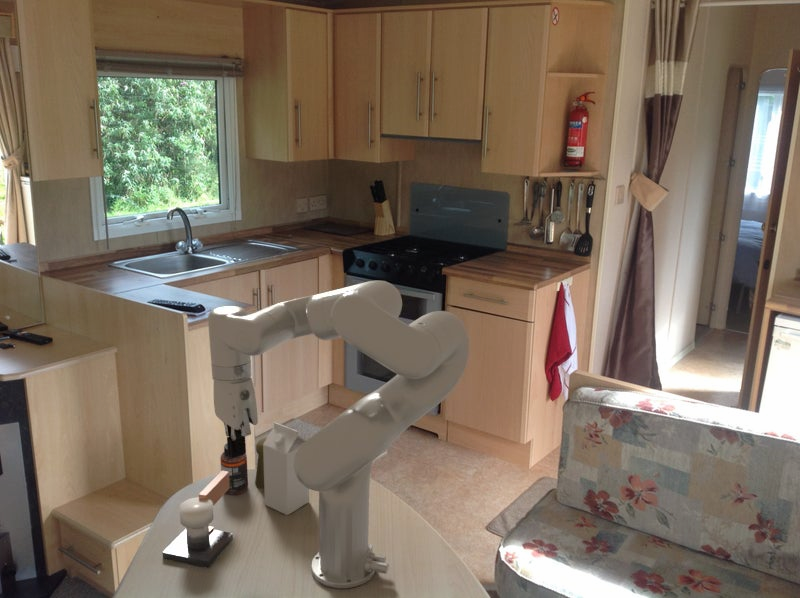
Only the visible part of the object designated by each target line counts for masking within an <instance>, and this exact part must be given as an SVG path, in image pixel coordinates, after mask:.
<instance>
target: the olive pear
mask: <svg viewBox="0 0 800 598" xmlns="http://www.w3.org/2000/svg"><path fill="white" fill-rule="evenodd" d="M266 439H267V437H264V438H262V439H260V440H258V441H257V443H256V444H255V450H256V451H255V452H256V453H257V456H258V457H257V464H256V465H257V466H256V472H255V473H256V475H255V482H254V484H255V487H256V488H259V489H261V490H264V457H263V444H264V442H265V441H266Z"/></svg>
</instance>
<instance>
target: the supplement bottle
mask: <svg viewBox="0 0 800 598" xmlns="http://www.w3.org/2000/svg"><path fill="white" fill-rule="evenodd" d="M221 471H228V472H229V485H230V488H229V489H228V491H227V492H226V493H225V494H226V495H230V496H233V495H240V494H242V493H244V492H245V491H247V490H248V488H249V478H248V477H249V475H248V474H249V473H248V457H247V452H246V453H245V454H243V455H241V456H238V457H235V458H232V457H231V456H229V455H228V446H227V442H226V443H225V444H224V446H223V452H222V453H221V455H220V472H221Z"/></svg>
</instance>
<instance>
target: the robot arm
mask: <svg viewBox="0 0 800 598" xmlns="http://www.w3.org/2000/svg"><path fill="white" fill-rule="evenodd" d="M402 307H403V300H402V295H401V293H400V291H399V289H398V288H397V287H396V286H394V284H392V283H390V282H388V281H386V280H377V279H376V280H370V281H365V282H360V283H357V284H353V285H350V286H345V287H342V288H338V289H333V290H329V291H325V292H322V293H321V292H320V293H317V294H313V295H307V296H302V297H298V298H294V299H291V300H287V301H283V302H278V303H276V304H273V305H269V306H267V307H265V308H262V309H260V310H258V311H255V312H253V313H252V312H251V313H250V314H248V312H247V310H246V309H245V308H244V307H241V306H237V305H224V306H219V307H216V308H213V309H212V310H211V311H210V312H209V313H208V317H207V322H208V324H207V325H208V326H207V327H208V337H209V350H210V351H209V352H210V353H209V354H210V364H211V365H210V366H211V378H212V380H213V408H214V413H215V416H216V417H217V418H218V419H219V420H220V421H221V422H222V423H223V425H224V431H225V436H226V443H227V446H228V455H229V456H231V457H232V458H235V457H238V456H241V455H243V454H245V453H246V454H247V447H246V445H247V444H246V437H248V436H251V435H252V429H251V425H250V424H252V425H253V426H257V425H258V423H259V416H258V407H257V406H258V405H257V399H256V398H257V397H256V392H255V388H254V383H253V379H252V364H251V362H252V361H251V356H252V357H255V356H260V355H262V354H264V353H266V352H268V351H270V350H272V349H273V348H275V347H278V346H280V345H281V344H284V343H286V342H288V341H290V340H293V339H296V338H301V337H305V336H310V335H314V336H315V337H316V338H317V339H319V340H321V341H331V340H336V339H343V340H344V341H345V342H346V343H347V344H349V345H350V346H352V347H353V348H355V350H358V351H359V352H361V353H363V354H364V355H366V356H367V357H369V358H370V359H372V360H374V361H375V362H377V363H379V364H380V365H382V366H383V367H385V368H386V369H388V370H389V371H391V372H393V373H394V374H396V375H395V376H393V377H392V378H390V380H389V381H387V382H386V383H384V384H383V385H382V386H380V387H378V389H376V390H374V391H372V392H370V393H369V394H367V395H365V396H364V397H362V398H360V399H359V400H358V401H356V402H355V403H354V404H352V405H351V406H349V407H348V408H347V409H346V410H344V411H343V412H342V413H340V414H339V415H338V416H336V417H335V418H334V419H333V420H332V421H330V422H328V423H327V424H326V425H325V426H323V427H322V428H320V430H319V429H318V431H317V432H316V433H315V434H313V435H312V436H311V437H309V438H308V439H307V440H306V441H305V442H304V443H303V444H302V445H301V446H300V447H299V449H298V450H297V452H296V455H295V459H294V469H295V473H296V476H297V478H298V480H299V481H300V482H301V483H302V484H303V485H304V486H305V487H307V488H309V490H310V491H315V492H318V552H317V553H316V554H315V555H314V556H313V558H312V559H311V563H310V570H311V574H312V576H313V578H314V579H315V580H316V581H317V582H319V583H320V584H321V585H323V586H326V587H329V588H333V589H348V588H349V589H351V588H355V587H359V586H361V585H363V584H365V583H366V582H368V581H369V580H370V579H372V578H373V576H374V575H375V573H376V572H377V573H381V574H386V575H388V572H389V566H390V565H389V563H388V562H386V561H387V556H386V555H381V554H376V553H375V552H373V551H374V550H373V544H371V543H369V524H370V523H369V522H370V521H369V517H370V516H369V515H370V513H369V512H370V511H369V510H370V509H369V508H370V481H371V472H372V471H371V470H372V466H373V462H374V461H375V460H376V459H378V457H380V456H381V455H382V454H383V453H384V452H385V451H386V450H387V449H388V448H389V447H390V446H391V445H392V444H394V443H395V441H397V439H399V437H400V436H401V435H402V434H403V433H404V432H405V431H406V430H407V429H408V428H409V427H411V426H412V425H413V424H415V423H416V422H417V421H419V420H420V419H422V418H423V417H424V416H425V415H426V414H428V413H429V412H430V411H432V410H433V409H434V408H435V407H437V406H438V405H439V404H441V402H443V401H444V400H445V399H446V398H447V397H448V396H449V395H450V394H451V392H453V390H455V388H456V387H457V385H458V384H459V383H460V381H461V379H462V377H463V375H464V373H465V371H466V368H467V365H468V362H469V356H470V339H469V334H468V330H467V328H466V325H465V324H464V322H463V321H462V319H461V318H460V317H459V316H458V315H456V314H454V313H452V312H450V311H446V310H437V311H431V312H428V313H426V314H424V315H422V316H419V318H417V319H415V320H414V321H412V322H411V323H409V324H407V323H406V322H404V321H402V320H401V319H399V316H401V313H402V309H403V308H402Z"/></svg>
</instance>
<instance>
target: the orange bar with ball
mask: <svg viewBox="0 0 800 598" xmlns="http://www.w3.org/2000/svg"><path fill="white" fill-rule="evenodd" d="M229 488H230V485H229V472H228V471H221V470H220V472H219V473H218V474H217V475H216V476H215V477H214V478H213V479H212V480H211V481H210V482H209V483H208V484H207V485H206V486H205V487H204V488H203V489H202V490H201V491H200V492H199V493H198V496H197V497H191V498H188V499H186V500H184V501H183V502H181V504H180V505H179V519H180V522H179V523H180V524H181V525H182V526H183V527H185V528H186V527H187V528H200V527H204V526H206V525H208V524H211V523H212V521H214V506H215V504H217V502H218V501H219V500H220V499H222V497H223V496H224V495H226V494H227V493H226V492H227V491H228V489H229Z"/></svg>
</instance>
